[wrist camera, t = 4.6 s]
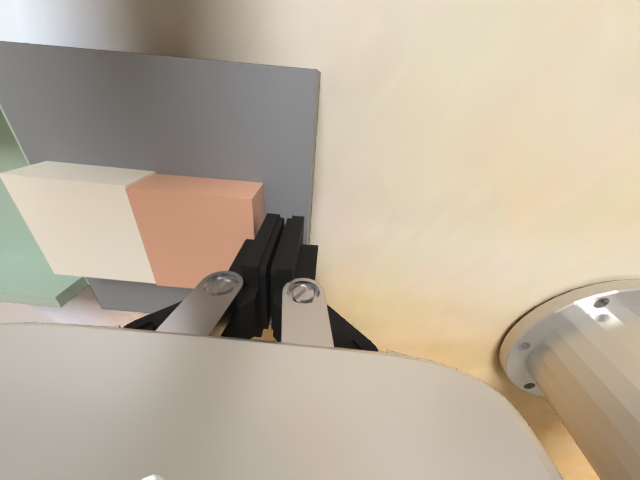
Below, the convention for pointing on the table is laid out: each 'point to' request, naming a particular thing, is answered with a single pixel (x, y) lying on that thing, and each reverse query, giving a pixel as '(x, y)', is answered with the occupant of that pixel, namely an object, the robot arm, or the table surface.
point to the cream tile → (82, 218)
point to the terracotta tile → (194, 224)
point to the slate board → (165, 127)
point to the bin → (25, 243)
